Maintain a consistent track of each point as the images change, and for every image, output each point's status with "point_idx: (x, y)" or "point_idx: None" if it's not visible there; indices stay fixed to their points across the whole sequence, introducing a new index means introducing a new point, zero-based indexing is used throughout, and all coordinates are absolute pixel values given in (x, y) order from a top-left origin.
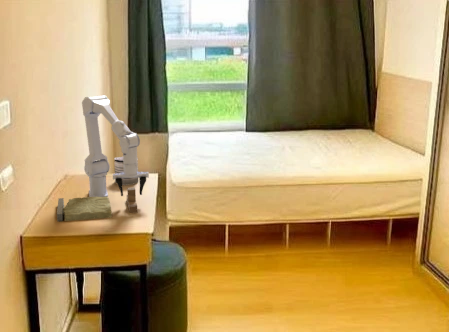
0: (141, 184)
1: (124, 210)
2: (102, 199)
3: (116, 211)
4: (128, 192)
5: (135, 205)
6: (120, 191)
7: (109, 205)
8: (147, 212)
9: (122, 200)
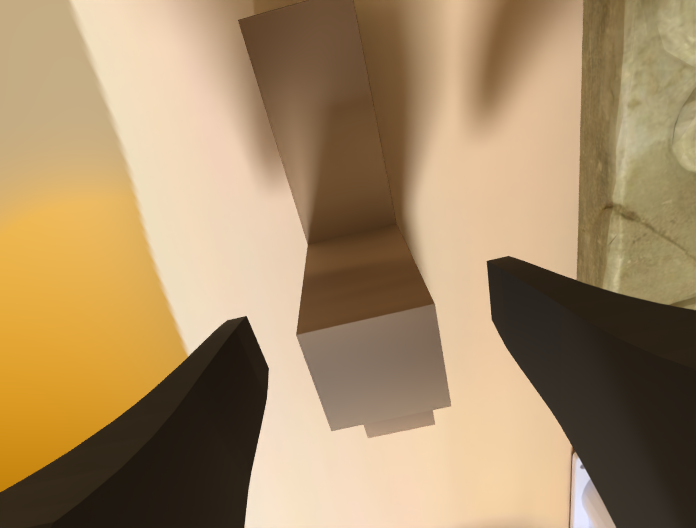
0: (135, 433)
1: (422, 112)
2: (685, 298)
3: (512, 73)
4: (416, 281)
5: (273, 52)
6: (565, 277)
7: (638, 86)
8: (130, 35)
9: (457, 386)
